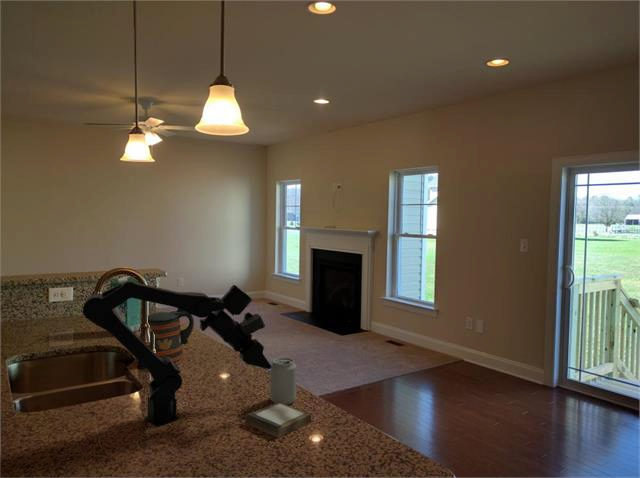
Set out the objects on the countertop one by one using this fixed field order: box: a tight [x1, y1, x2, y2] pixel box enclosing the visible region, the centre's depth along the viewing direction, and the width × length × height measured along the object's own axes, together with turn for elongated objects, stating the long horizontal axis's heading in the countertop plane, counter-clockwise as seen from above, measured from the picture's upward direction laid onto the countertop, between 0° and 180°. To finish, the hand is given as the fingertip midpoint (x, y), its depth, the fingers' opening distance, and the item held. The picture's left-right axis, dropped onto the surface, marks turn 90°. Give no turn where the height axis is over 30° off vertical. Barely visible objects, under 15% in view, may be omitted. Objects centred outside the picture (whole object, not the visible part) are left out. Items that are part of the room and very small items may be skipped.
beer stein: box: [147, 308, 195, 363], centre depth 173 cm, size 19×15×20 cm
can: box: [269, 357, 297, 406], centre depth 134 cm, size 8×8×12 cm
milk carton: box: [109, 275, 141, 331], centre depth 209 cm, size 9×9×25 cm
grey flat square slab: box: [244, 402, 312, 439], centre depth 120 cm, size 12×12×3 cm
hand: (265, 362), depth 132 cm, fingers open, 9 cm apart
